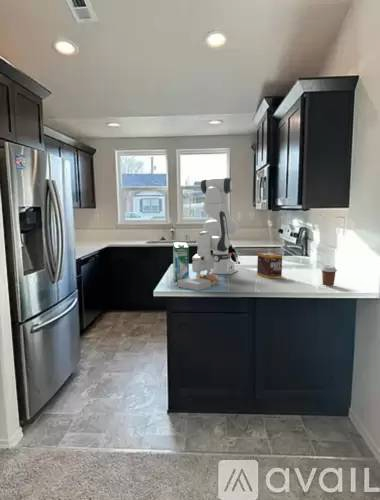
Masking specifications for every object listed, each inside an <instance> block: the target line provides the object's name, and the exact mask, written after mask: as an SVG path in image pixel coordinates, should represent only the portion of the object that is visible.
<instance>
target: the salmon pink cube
mask: <svg viewBox="0 0 380 500" xmlns="http://www.w3.org/2000/svg"><path fill="white" fill-rule="evenodd" d="M216 278H217V274H215V273H210V274H209V275H208V279H210V280H214V279H216Z"/></svg>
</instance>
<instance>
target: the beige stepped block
mask: <svg viewBox="0 0 380 500" xmlns="http://www.w3.org/2000/svg"><path fill="white" fill-rule="evenodd" d="M200 275H201V278H200V279H205V280H210V279H208V274H206V273H200ZM195 278H198V275H197V274H196V275H195ZM217 284H220V279H219V277H218V278H217V277H216V279H214V280H211V286H215V285H217Z"/></svg>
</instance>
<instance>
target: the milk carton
mask: <svg viewBox="0 0 380 500" xmlns="http://www.w3.org/2000/svg"><path fill="white" fill-rule="evenodd" d="M172 247H173V248H172V253H173V254H172V261H173V262H172V267H173V269H172V270H173V280H174V281H175V282H178V280H181V279H185V278H188V277H190V271H189V270H190V265H189V264H190V263H189V261H190V249H189V248H190V247H189V245H188V243H187V242H184V241H183V242H182V241H181V242H172Z"/></svg>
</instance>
